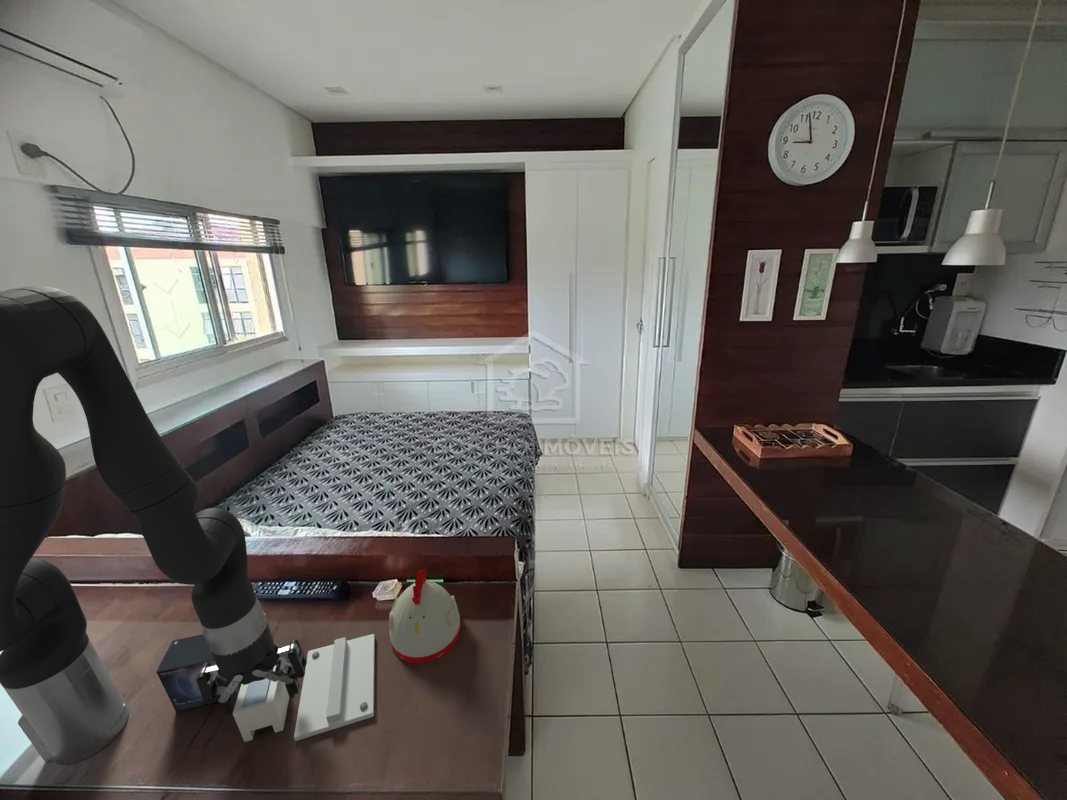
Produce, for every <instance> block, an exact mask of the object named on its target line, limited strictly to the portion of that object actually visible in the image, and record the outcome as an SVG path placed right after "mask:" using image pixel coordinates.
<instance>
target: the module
mask: <svg viewBox="0 0 1067 800" xmlns="http://www.w3.org/2000/svg"><path fill="white" fill-rule="evenodd" d="M275 669H276V665H275V667H274V668H273V670H272V671H275ZM284 673H286V671H284ZM289 700H290V698H289V695H288V692H287V689H286V686H285V683H284V682H281V681H279V680H278V681H276V682H274V681H271V680H269V679H266V678H265V679H264V680H260V681H254V682H251V683H249V684H246V685H243V684H241V687H240V691H239V694H238V697H237V701H236V704H235V707H234V711H233V716H232V717H233V718H234V720H235V723H236V726H237V727H238V730H239V733H240V736H241V737H242V740H243V741H244V743H247V742H250V741H252V740H254V736H255V732H256V730H259V729H263V728H267V727H270V726H272V728H273V729H272V730H273V731H274V733H278V732H281V731H284V728H285V723H286V718H287V714H288V713H287V711H288V707H289V706H288V705H289V702H290V701H289Z"/></svg>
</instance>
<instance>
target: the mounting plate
mask: <svg viewBox="0 0 1067 800" xmlns="http://www.w3.org/2000/svg"><path fill="white" fill-rule="evenodd" d="M375 639H376V637H375V633H372V634H367V635H362V636H360V637H356V638H352V639H349V640H348V639H347V637H346V636H345V637H340V638H337V639H334V643H332V644H329V645H326V646H322V647H319V648H315V649H311V650H308V651H307V656H306V660H307V665H306V669H305V676H304V677H303V680H302V685H301V686H302V687H301V692H300V699H299V705H298V709H297V717H296V723H295V728H294V734H293V735H294V736H293V740H294V741H295V742H297V741H301V740H305V739H307V738H310V737H313V736H317V735H319V734H323V733H325V732H328V731H333V730H336V729H339V728H342V727H344V726H349V725H352V724H355V723H357V722H361V721H364V720H367V719H370V718H373V717H375V664H376V663H375V659H376V658H375V657H376V656H375V654H376V651H375V649H376V648H375V647H376V645H375V644H376V642H375V641H376V640H375Z"/></svg>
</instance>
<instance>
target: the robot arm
mask: <svg viewBox="0 0 1067 800" xmlns="http://www.w3.org/2000/svg"><path fill="white" fill-rule="evenodd" d="M55 374H58V375H59V376H60V377H62V379H63V380H64V381H65V382H66V383H67V385H69V387H70V388H71V389H72V391H73V392H74V393H75V396H76V397H77V399H78V401H79V403H80V405H81V408H82V411H83V413H84V415H85V418H86V424H87V427H88V428H87V429H88V433H89V437H90V443H91V449H92V456H93V459H94V460H93V461H94V463H95V467H96V470H97V471H98V473H99V476H100V477H101V479H102V481H103V482H104V483H105V485H106V486H107V487H108V489H109V490H110V491H111V493H113V494H114V495H115V496H116V498H117V499H118V500H119V501H120V502H121V503H122V504H123V506H124V507H125V508H126V510H128V512H130V514H131V515H133V516H134V518H135V519H136V520H137V523H138V525H139V528H140V532H141V534H142V537H143V539H144V541H145V544H146V545H147V548H148V550H149V552H150V555H151V557H152V559H153V561H154V563H155V565H156V566H157V567H158V569H159V570H160V571H161V573H162V574H163V575H164V576H166V577H167V578H168V579H170V580H172V581H173V582H176V583H179V584H183V585H188V586H193V588H192V591H191V601H192V606H193V608H194V610H195V613H196V615H197V618H198V620H199V623H200V624H201V627H202V628H201V629H202V632H203V633H202V634H204V637H205V640H206V642H207V644H208V646H209V649H210V651H211V653H212V656H213V658H214V660H215V662H216V665H215V666H212V665H211V664H210V663H204V664H203V665H202V667H201V670H200V672H199V675H198V677H197V679H196V681H197V684H198V687H199V689H200V692H201V695H202V698H203V701H204V703H205V704H209V705H212V704H211V703H212V702H213V701H216V700H218V701H219V702H218V703H220V704H222V706H223V708H224V711H225V713H227V714H230V716H231V717H234V716H233V711H234V707H235V704H236V701H237V697H238V695H237V693H236V690H235V689H236V687H237V686H238V684H243V685H246V684H249V683H251V682H254V681H260V680H264V679H265V678H266V679H269V680H271V681H274V682H276V681H278V680H279V681H281V682H284V683H285V686H286V689H287V692H288V695H289V700H292V699H295V698H296V696H297V694H299V690H300V684H301V682H300V679H301V678H304V676H305V669H306V665H307V657H306V656H305V654H304V651H303V649H302V648H303V647H302V646H301V644H300V641H299V640H298V639H292V640H291V641H290V643H289V645H287V646H283V647H281V648H280V647H279V646H277V645H276V644H275V640H274V636H273V634H272V631H271V628H270V625H269V622H268V620H267V614H266V613H265V611H264V608H263V606H262V604H261V602H260V601H259V600H258V598H257V595H256V592H255V590H254V587H253V584H252V582H251V579H250V577H249V573H248V554H247V553H248V552H247V541H246V534H245V531H244V528H243V526H242V523H241V521H240V520H239V519H238V517H237V516H235V515H234V514H233V513H232V512H230V511H228V510H226V509H223V508H220V507H219V508H218V507H208V508H205V509H202V510H200V511H198V512H196V508H197V507H196V506H197V503H198V500H199V497H200V488H199V486H198V485H197V483H196V481H195V480H194V479H193V477H191V475H190V473H189V472H188V471H187V469H185V467H184V466H183V465H182V463H181V462H180V461H179V459H178V458H177V457H176V456H175V454H174V453H173V452H172V451H171V450H170V448H169V447H168V446H167V444H166V442H165V441H164V440H163V438H162V437H161V435H160V434H159V432H158V431H157V429H156V427H155V425H154V424H153V423H152V421H151V419H150V417H149V415H148V414H147V412H146V410H145V408H144V406H143V404H142V402H141V400H140V398H139V397H138V394H137V392H136V390H135V389H134V386H133V384H132V382H131V380H130V379H129V377H128V374H127V373H126V371H125V369H124V367H123V366H122V364H121V361H120V360H119V357H118V355H117V353H116V351H115V350H114V348H113V346H112V344H111V341H110V340H109V338H108V336H107V335H106V332H105V330H104V329H103V327H102V326H101V324H100V322H99V321H98V319H97V318H96V316H95V315H94V314H93V313H92V311H91V310H90V309H89V308H88V306H87V305H85V303H83V302H82V301H81V300H80V299H78V298H77V297H75V296H74V295H72V294H71V293H68V292H67V291H64V290H62V289H59V288H57V287H52V286H47V285H46V286H45V285H31V286H23V287H16V288H12V289H7V290H2V291H0V686H1V687H2V688H3V690H4V691H5V692H6V694H7V695H8V696H9V698H10V699H11V701H12V702H13V704H14V705H15V707H16V708H17V709H18V711H19V712H20V713H21V716H20V718H19V719H18V722H17V724H18V726H19V728H20V729H21V731H23V733H24V734H25V736H26V737H27V739H28V740H29V742H30V743H31V744H32V746H33V748H34V749H35V750H36V752H37V753H38V755H40V757H41V758H42V760H43V761H44V762H45V763H48V762H51V761H52V762H53V761H54V762H55V763H57V764H60V765H70V764H73V763H78V762H80V761H83V760H85V759H88V758H89V757H91V756H93V755H95V754H97V752H99V751H100V750H102V749H104V748H105V747H106V746H107V745H109V743H110V742H112V741H114V739H115V737H117V736H118V734H119V733H120V732H121V731H122V730H123V728H124V727H125V725H126V723H127V722H128V720H129V719H128V718H129V713H130V711H129V708H128V706H127V704H126V703H125V701H124V699H123V696H122V695H121V694H120V691H119V689H118V687H117V686H116V684H115V682H114V680H113V679H112V677H111V676H110V674H109V672H108V670H107V668H106V666H105V664H104V662H103V660H102V659H101V657H100V655H99V654H98V651H97V650H96V648H95V646H94V645H93V642H92V640H91V639H90V637H89V635H88V633H87V628H88V622H87V617H86V615H85V614H84V612H83V609H82V606H81V604H80V602H79V599H78V597H77V595H76V593H75V590H74V588H73V586H72V584H71V582H70V580H69V579H68V578H67V576H66V574H64V572H63V571H62V570H61V569H60V568H58V567H57V566H56V565H54V564H53V563H52V562H49V561H48V560H45V559H41V558H37V557H33V556H34V555H35V553H37V551H38V550H39V548H40V547H41V546H42V545H41V544H42V543H43V541H44V540H45V538H46V537H47V536H48V535H49V533H50V532H51V530H52V527H53V526H54V525H55V522H56V521H57V519H58V517H59V515H60V514H61V513H60V512H61V510H62V507H63V502H64V498H65V497H64V496H65V488H66V481H67V480H66V478H67V468H66V462H65V460H64V459H65V458H64V457H63V456H62V455H61V453H60V451H59V450H58V449H57V447H55V446H54V444H52V443H51V442H50V441H49V440H48V439H46V438H45V437H44V436H43V435H41V434H40V433H39V432H38V431H37V430H36V428H35V424H34V407H35V405H34V404H35V399H36V394H37V391H38V387H39V385H40V383H41V382H42V381H43V379H45V378H48V377H50V376H53V375H55ZM275 665H276V669H275V671H272V670H273V668H274V667H275ZM284 671H285V673H284ZM217 674H218V675H219V676H221V677H223V678H225V679H227V681H226V683H225V684H224V686H220V687H218V683H217V680H216V675H217Z"/></svg>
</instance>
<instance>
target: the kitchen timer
mask: <svg viewBox="0 0 1067 800" xmlns="http://www.w3.org/2000/svg"><path fill="white" fill-rule="evenodd" d="M388 617H389V619H388V627H389V631H388V632H389V640H390V645H391V649H392V651H393V652H394V653H395V654H394V655H396V656H397V657H398V658H400V659H401V660H402V661H404V662H407V663H410V664H426V663H429V662H433V661H435V660H437V659H439V658H441V657H442V656H445V655H446V654H447V653H448V652H449V651H450V650H451V649H452V648H453V647H454V646H455V644H456V643H457V641H458V639H459V637H460V634H461V630H462V629H461V616H460V613H459V608H458V605H457V602H456V598H455V595H451V594H450V593H449V592H448V591H447V590H446V589H445V588H444V587H443V586H442V585H440V584H438V583H436V582H435V581H429V580H427V569H426V568H421V569H418V571H416V577H414V582H413V583H412V584H411V585H409V586H408V587H406V589H405V590H403V592H402V593H401V594H400V596H399V597H396V598H395V599H394V603H393V605H392V608H391V611H390V612H389V616H388Z"/></svg>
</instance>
